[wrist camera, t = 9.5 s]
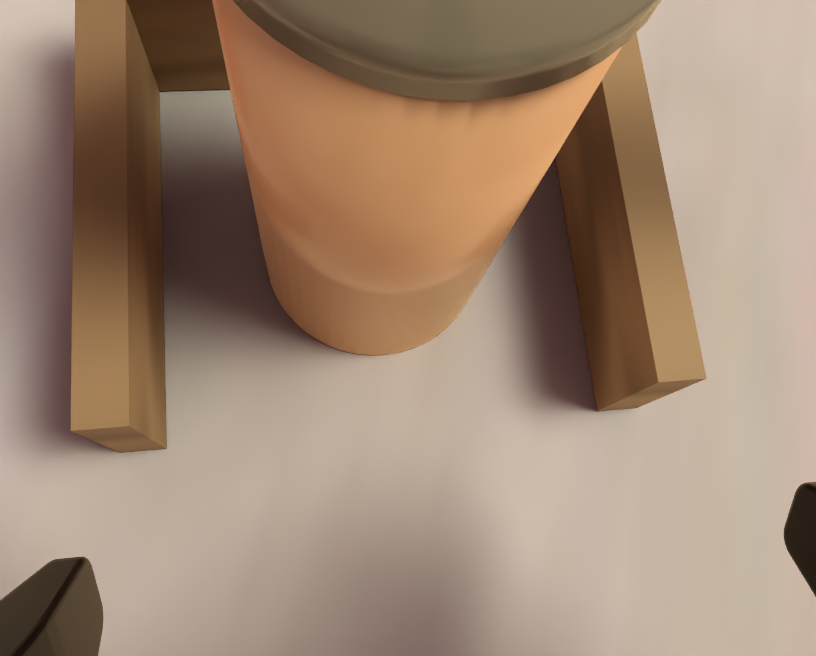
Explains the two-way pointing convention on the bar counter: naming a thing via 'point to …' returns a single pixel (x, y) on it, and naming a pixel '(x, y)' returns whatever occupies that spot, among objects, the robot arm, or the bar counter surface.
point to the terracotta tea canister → (403, 144)
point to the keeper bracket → (205, 70)
